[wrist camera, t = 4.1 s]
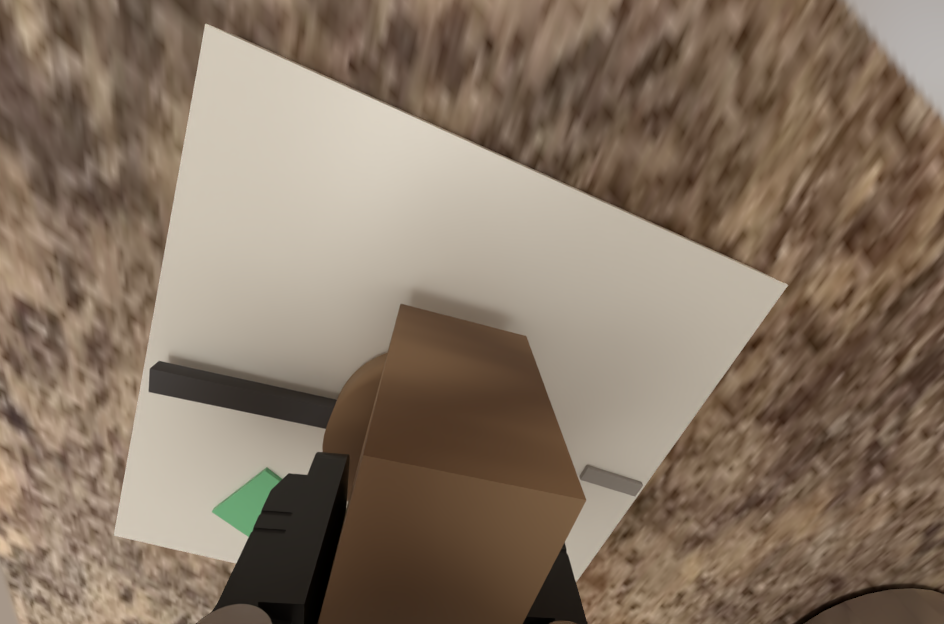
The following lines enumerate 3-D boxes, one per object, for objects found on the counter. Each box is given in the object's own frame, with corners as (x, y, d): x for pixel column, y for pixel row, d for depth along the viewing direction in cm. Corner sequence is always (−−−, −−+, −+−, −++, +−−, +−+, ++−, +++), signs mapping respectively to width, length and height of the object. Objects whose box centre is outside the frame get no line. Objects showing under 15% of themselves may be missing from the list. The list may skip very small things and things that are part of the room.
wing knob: (554, 323, 12) (653, 513, 6) (466, 539, 15) (479, 805, 9) (171, 222, 11) (-163, 348, 5) (156, 483, 13) (-64, 760, 8)
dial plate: (753, 268, 14) (792, 286, 12) (533, 594, 19) (540, 637, 17) (236, 35, 11) (201, 21, 9) (142, 498, 16) (110, 539, 14)
